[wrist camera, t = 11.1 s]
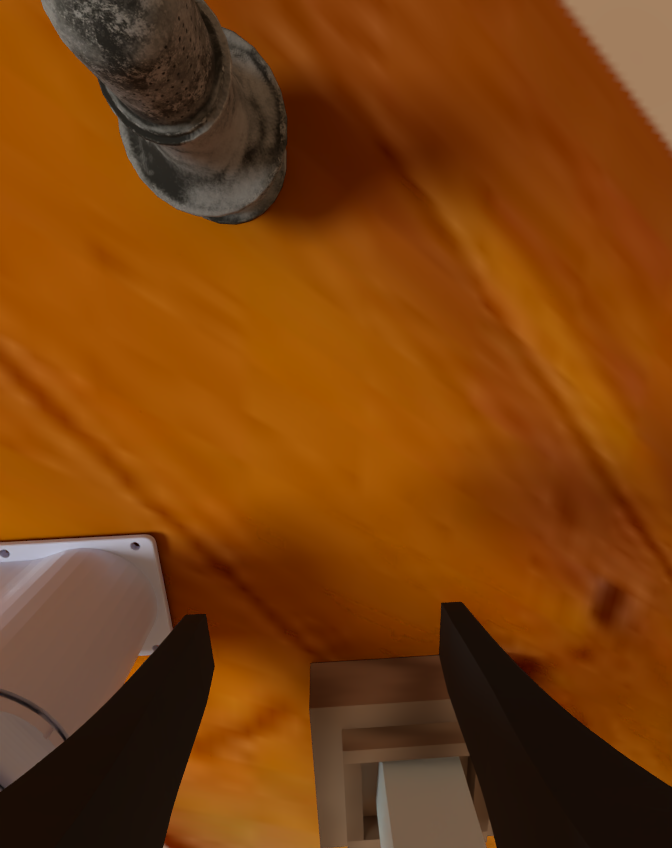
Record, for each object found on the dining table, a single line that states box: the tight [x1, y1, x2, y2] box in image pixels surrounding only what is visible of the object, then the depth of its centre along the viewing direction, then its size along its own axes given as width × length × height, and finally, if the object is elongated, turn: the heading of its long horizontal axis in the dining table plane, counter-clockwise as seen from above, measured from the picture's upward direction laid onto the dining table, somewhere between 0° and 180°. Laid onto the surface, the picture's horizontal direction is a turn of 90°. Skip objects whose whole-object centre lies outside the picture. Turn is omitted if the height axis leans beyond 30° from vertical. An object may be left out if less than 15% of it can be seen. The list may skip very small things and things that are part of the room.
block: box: [376, 756, 487, 848], centre depth 22 cm, size 4×4×6 cm
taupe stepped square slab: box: [309, 655, 494, 848], centre depth 26 cm, size 12×12×4 cm
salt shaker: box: [41, 0, 287, 224], centre depth 12 cm, size 6×6×12 cm
